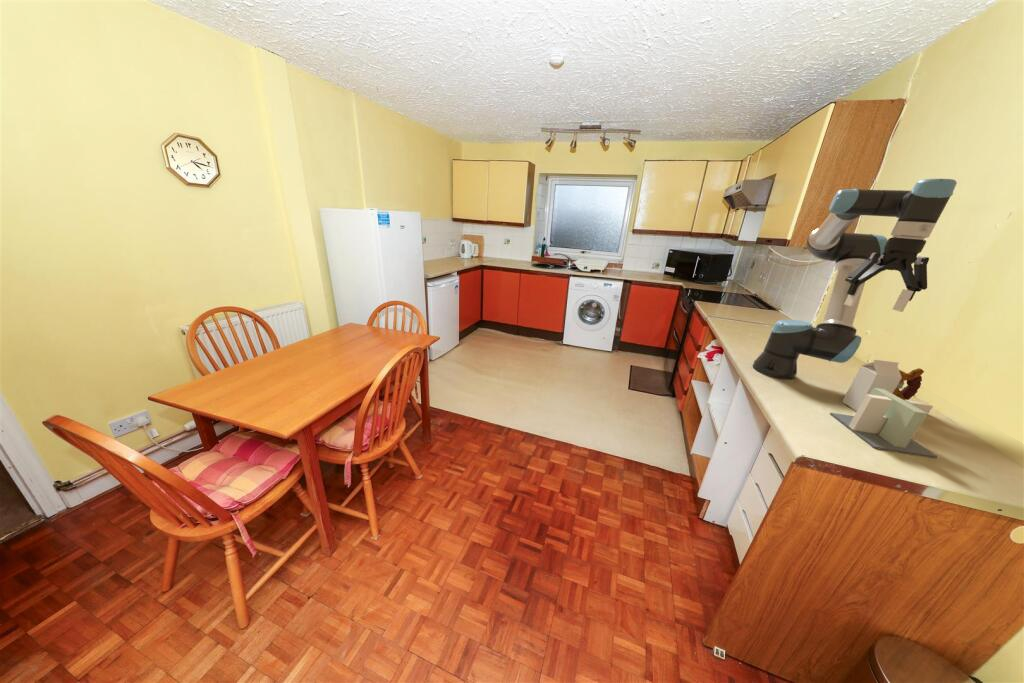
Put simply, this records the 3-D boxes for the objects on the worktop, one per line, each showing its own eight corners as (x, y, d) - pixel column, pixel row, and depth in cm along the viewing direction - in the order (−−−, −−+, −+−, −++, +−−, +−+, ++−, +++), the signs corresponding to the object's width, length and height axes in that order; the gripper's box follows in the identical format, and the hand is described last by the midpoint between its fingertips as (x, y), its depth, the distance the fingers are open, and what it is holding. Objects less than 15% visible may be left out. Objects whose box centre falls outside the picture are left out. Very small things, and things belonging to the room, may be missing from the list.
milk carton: (879, 415, 113) (908, 367, 106) (856, 412, 115) (883, 363, 108) (863, 405, 120) (889, 358, 113) (841, 401, 121) (866, 355, 114)
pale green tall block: (856, 418, 109) (873, 387, 105) (866, 420, 109) (884, 389, 104) (893, 445, 96) (915, 411, 92) (905, 447, 96) (927, 413, 91)
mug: (845, 389, 132) (863, 355, 126) (897, 398, 127) (918, 364, 121) (862, 402, 122) (882, 366, 117) (918, 413, 117) (942, 376, 112)
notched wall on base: (873, 448, 95) (895, 412, 91) (829, 414, 112) (846, 381, 107) (937, 458, 93) (962, 421, 89) (882, 421, 110) (901, 389, 105)
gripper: (870, 234, 93) (837, 306, 101) (972, 242, 90) (930, 316, 98) (850, 233, 100) (820, 300, 108) (944, 241, 97) (906, 309, 105)
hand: (872, 308), depth 103 cm, fingers open, 13 cm apart
